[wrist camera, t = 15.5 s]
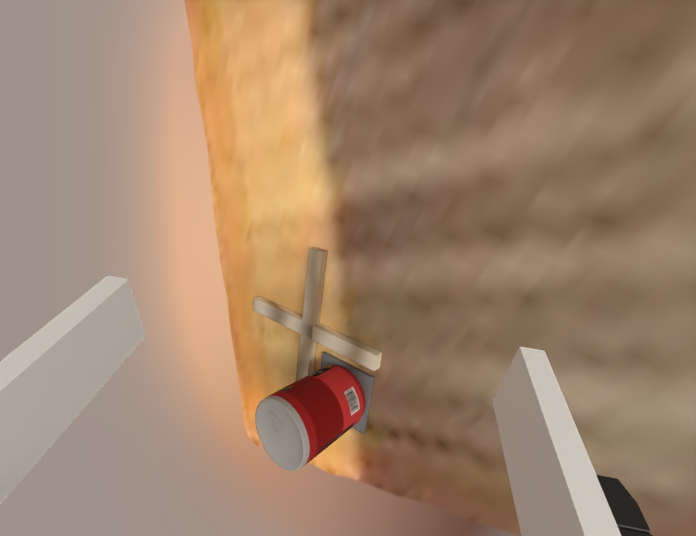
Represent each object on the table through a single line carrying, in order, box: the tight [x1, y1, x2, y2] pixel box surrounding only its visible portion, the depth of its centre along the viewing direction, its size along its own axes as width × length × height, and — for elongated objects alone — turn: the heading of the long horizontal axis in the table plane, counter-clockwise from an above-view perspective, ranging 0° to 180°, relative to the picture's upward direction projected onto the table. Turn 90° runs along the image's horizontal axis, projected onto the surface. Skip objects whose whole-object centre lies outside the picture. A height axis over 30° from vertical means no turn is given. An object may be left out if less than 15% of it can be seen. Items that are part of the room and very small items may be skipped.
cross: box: [253, 247, 382, 434], centre depth 49 cm, size 22×22×1 cm
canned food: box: [255, 365, 366, 471], centre depth 43 cm, size 8×8×11 cm
